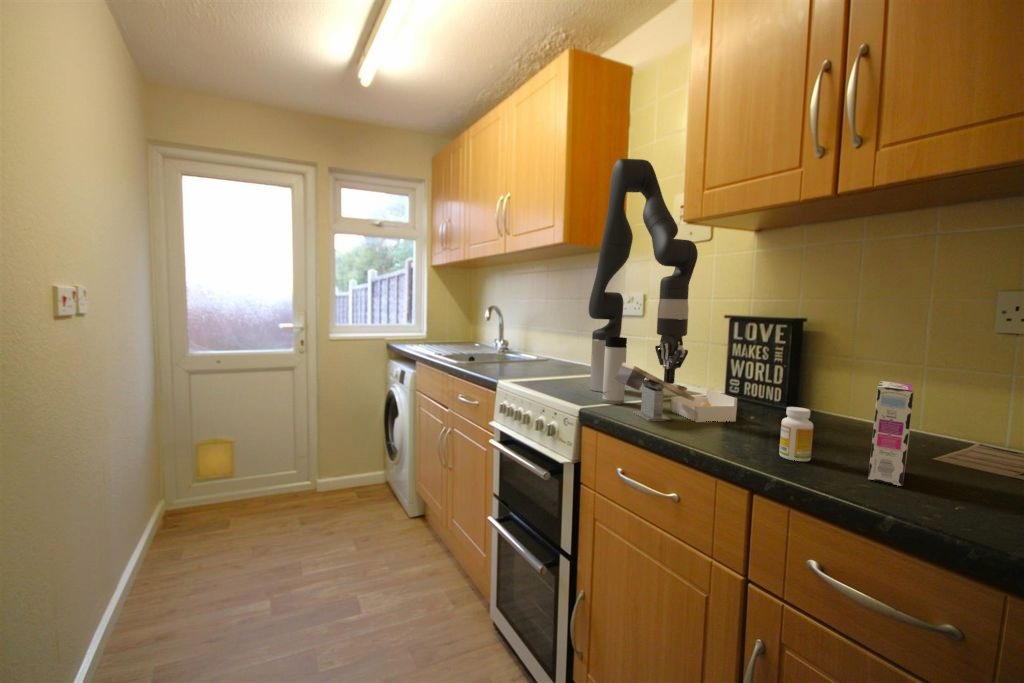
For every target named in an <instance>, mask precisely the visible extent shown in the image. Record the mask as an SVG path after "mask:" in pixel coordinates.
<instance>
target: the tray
mask: <svg viewBox="0 0 1024 683" xmlns="http://www.w3.org/2000/svg"><path fill="white" fill-rule="evenodd" d="M694 397H695V399H694V401H692V400H689V399H686V398H684V397H681V396H671V401H670V412H671V411H672V413H674V414H676V413H677V414H676V415H678V414H679V415H678V416H680V415H681V417H683V416H684V417H683V418H685V417H686V418H685V419H687V418H688V420H689V419H691V420H690V421H692V420H693V421H692V422H694V421H695V422H694V423H713V422H712V421H716V422H715V423H722V422H723V423H726V421H727V422H729V421H730V422H736V421H737V411H738V410H737V409H738V397H733V396H730V395H727V394H724V393H722V392H718V391H714V390H711V389H706V392H705V396H694ZM704 402H707V403H709V404H710V405H711V406H700V404H702V403H704ZM706 421H707V422H706ZM708 421H709V422H708ZM710 421H711V422H710ZM717 421H718V422H717Z"/></svg>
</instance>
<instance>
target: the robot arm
mask: <svg viewBox="0 0 1024 683" xmlns="http://www.w3.org/2000/svg"><path fill="white" fill-rule="evenodd" d="M609 186H610V187H609V195H608V196H609V197H608V204H607V213H606V218H605V219H606V220H605V224H604V230H603V233H602V234H603V235H602V239H601V245H600V250H599V258H598V263H597V267H596V268H597V269H596V274H595V278H594V282H593V286H592V290H591V293H590V297H589V301H588V302H589V303H588V314H589V317H590V319H591V318H592V319H594V320H608V323H607V324H606V325H604V326H602V327H600V328H598V329H594V330H593V331H592V334H591V335H592V336H591V337H592V338H591V354H590V355H591V356H590V357H591V358H590V360H591V361H590V377H589V378H590V379H589V390H591V391H595V392H602V393H603V379H604V358H605V344H606V343H605V342H606V337H612V336H619V337H621V334H622V324H623V323H622V322H623V316H624V315H623V314H624V297H623V295H622V294H621V293H620V292H618V291H617V292H613V291H612V292H611V291H606V290H607V287H608V285H609V283H610V281H611V280H612V278H614V276H615V275H616V274H617V273H618V271H620V270H621V269H622V267H624V265H625V264H626V262H627V261H628V259H629V257H630V254H631V248H632V246H633V245H632V244H633V240H634V239H633V238H634V235H633V231H632V228H631V225H630V223H629V220H628V217H627V215H626V210H625V200H626V195H627V193H641V194H642V196H643V197H644V199H645V203H644V204H645V205H644V206H643V212H642V218H643V219H642V221H643V224H644V225H645V228H646V229H647V232H648V233H649V235H650V237H651V244H652V248H653V256H654V258H655V260H656V262H658V264H660V265H662V266H663V267H672V268H673V267H674V270H673V273H672V275H668V276H664V277H662V279H661V280H660V283H659V297H658V298H659V301H658V306H657V318H656V320H657V321H656V323H657V324H656V334H657V335H658V336H661V337H660V340H659V342H660V344H659V345H655V347H654V350H655V353H656V355H657V359H658V362H659V365H660V366H662V368H663V369H664V373H663V381H665V382H666V383H669V384H673V383H674V384H675V378H676V377H675V375H676V370H677V369H680V368H681V367H682V366H683V363H684V362H685V360H686V358H687V356H688V353H689V350H688V349H684V347H683V345H684V342H683V337H686V336H687V335H688V326H689V324H688V323H689V292H690V291H689V289H690V288H689V285H690V283H691V279H692V278H693V277H692V276H693V273H694V269H695V267H696V264H697V261H698V257H699V256H698V252H699V251H698V249H697V245H696V244H695V243H694V242H693V241H692V240H690V239H682V238H681V239H679V238H676V237H677V236H678V233H679V227H678V225H677V223H676V222H677V221H675V219H674V217H673V215H672V213H671V212H670V210H669V209H668V206H667V205H666V202H665V200H664V197H663V193H662V190H661V187H660V183H659V181H658V177H657V175H656V171H655V169H654V167H653V165H652V163H651V162H650V161H649V160H647V159H639V158H620V159H617V161H616V162H615V163H614V165H613V169H612V172H611V176H610V185H609Z"/></svg>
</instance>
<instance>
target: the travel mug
mask: <svg viewBox="0 0 1024 683" xmlns="http://www.w3.org/2000/svg"><path fill="white" fill-rule="evenodd" d="M627 341H628V338H627V337H621V336H620V337H619V336H612V337H606V342H605V343H606V344H605V358H604V379H603V392H602V402H603V403H604V404H607V403H608V405H616V404H617V405H622V404H621V403H623V404H624V402H625V390H626V385H625V384H623V383H621V382H619V381H617V380H615V377H616V375H617V373H618V371H619V369H620V367H621V365H622V363H623V362H624V363H627V347H628V346H627V344H628V342H627Z"/></svg>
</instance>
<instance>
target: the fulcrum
mask: <svg viewBox="0 0 1024 683" xmlns="http://www.w3.org/2000/svg"><path fill="white" fill-rule="evenodd" d="M642 385H643V386H642ZM642 385H641V399H640V400H641V403H640V410H632V414H634V413H635V414H634V415H636V414H637V415H636V416H638V415H639V416H641V417H643V418H645V419H647V420H655V421H654V422H666V421H665V420H672V419H671V418H670V417H668V416H666V415H664V414H663V409H664V393H665V392H664V388H663V385H662V384H659V383H656V382H653V381H650V380H648V379H646V378H645V379H644V381H643V383H642ZM639 416H638V417H639ZM641 417H640V418H641ZM643 418H642V419H643ZM645 419H644V420H645ZM647 420H646V421H647Z"/></svg>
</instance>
